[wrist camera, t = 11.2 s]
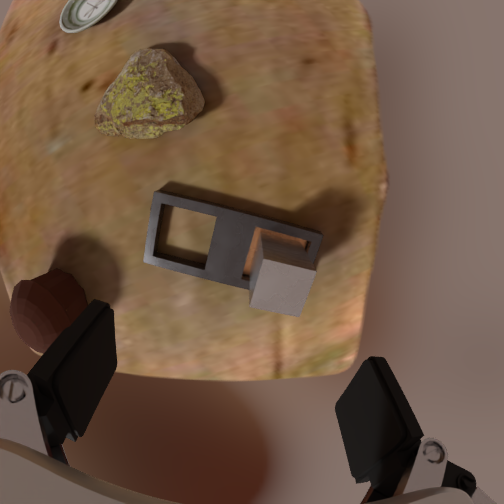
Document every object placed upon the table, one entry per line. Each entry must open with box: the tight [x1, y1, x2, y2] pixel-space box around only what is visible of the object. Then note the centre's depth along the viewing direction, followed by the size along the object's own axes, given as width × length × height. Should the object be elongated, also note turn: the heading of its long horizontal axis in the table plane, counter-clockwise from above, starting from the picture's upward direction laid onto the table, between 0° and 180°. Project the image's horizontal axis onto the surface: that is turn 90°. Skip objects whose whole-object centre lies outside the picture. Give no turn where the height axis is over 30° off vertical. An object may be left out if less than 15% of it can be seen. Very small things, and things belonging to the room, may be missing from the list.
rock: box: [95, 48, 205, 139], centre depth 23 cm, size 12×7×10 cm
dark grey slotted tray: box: [144, 190, 323, 290], centre depth 29 cm, size 8×18×2 cm, turn 75°
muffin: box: [10, 269, 88, 353], centre depth 28 cm, size 12×11×10 cm
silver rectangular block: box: [249, 232, 317, 317], centre depth 26 cm, size 4×4×8 cm
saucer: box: [60, 0, 118, 33], centre depth 18 cm, size 10×10×2 cm
